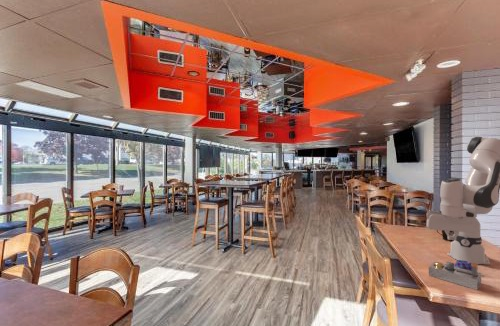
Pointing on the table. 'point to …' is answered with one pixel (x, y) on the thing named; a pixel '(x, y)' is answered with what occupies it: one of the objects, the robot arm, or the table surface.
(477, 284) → the panel
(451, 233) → the coffee mug
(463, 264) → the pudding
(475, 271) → the slider
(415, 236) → the table surface
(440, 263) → the button brass
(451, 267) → the button slate
